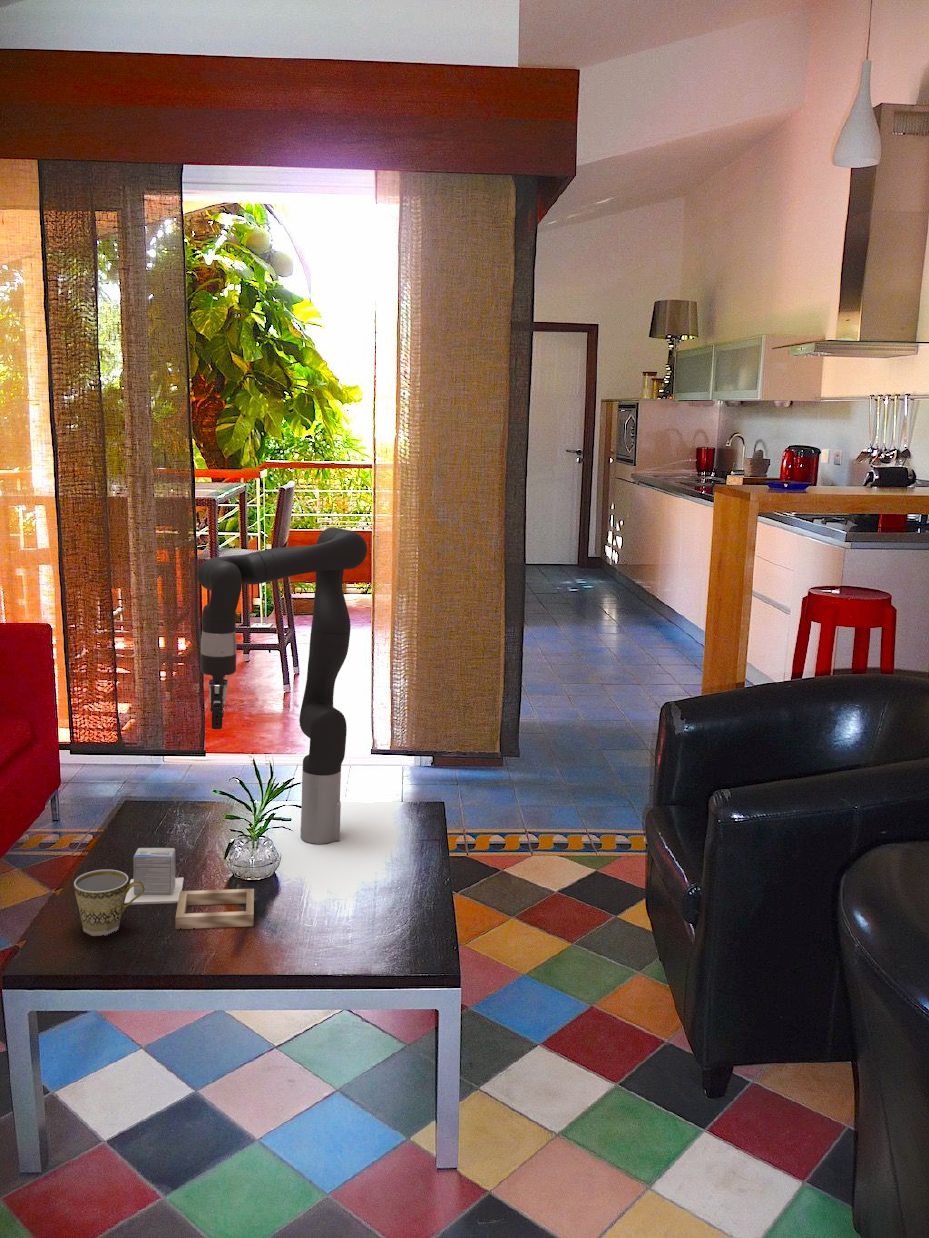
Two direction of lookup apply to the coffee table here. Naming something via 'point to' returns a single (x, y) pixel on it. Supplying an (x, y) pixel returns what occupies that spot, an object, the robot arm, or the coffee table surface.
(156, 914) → the coffee table surface
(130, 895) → the pad
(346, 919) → the coffee table surface
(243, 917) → the rectangular wooden frame
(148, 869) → the medicine box
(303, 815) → the robot arm
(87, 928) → the ceramic cup
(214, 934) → the coffee table surface
